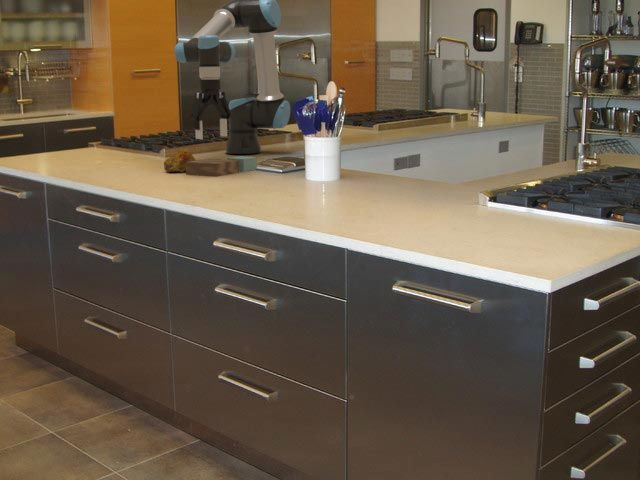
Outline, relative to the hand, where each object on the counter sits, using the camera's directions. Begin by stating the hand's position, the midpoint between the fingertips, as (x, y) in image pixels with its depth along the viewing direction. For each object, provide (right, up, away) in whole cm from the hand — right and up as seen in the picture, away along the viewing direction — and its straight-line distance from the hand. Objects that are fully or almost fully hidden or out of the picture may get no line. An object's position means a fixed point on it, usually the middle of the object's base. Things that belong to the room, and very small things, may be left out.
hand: (211, 137), depth 326 cm
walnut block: (0, -13, +3) cm, 14 cm away
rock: (-9, -12, +11) cm, 18 cm away
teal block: (+10, -11, +13) cm, 20 cm away
